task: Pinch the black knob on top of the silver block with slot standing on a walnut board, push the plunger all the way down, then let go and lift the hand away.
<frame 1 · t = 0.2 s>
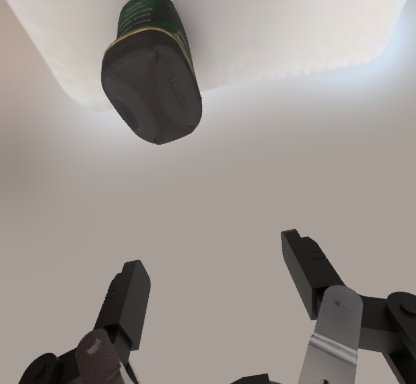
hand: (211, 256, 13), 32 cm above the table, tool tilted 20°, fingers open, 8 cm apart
coffee jar: (156, 37, 32), on the table
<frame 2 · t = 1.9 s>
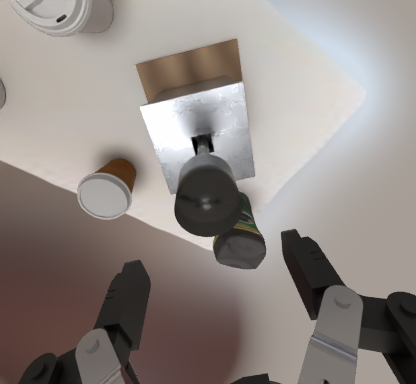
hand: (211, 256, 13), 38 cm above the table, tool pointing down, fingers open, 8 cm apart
walnut board: (200, 115, 46), on the table
plunger: (204, 159, 25), point 24 cm above the table, slide at 8.0 cm
coffee cup: (92, 8, 37), on the table
silver block with slot: (203, 136, 38), on the walnut board, point 10 cm above the table
disposable coffee cup: (121, 171, 51), on the table
coffee jar: (228, 202, 57), on the table
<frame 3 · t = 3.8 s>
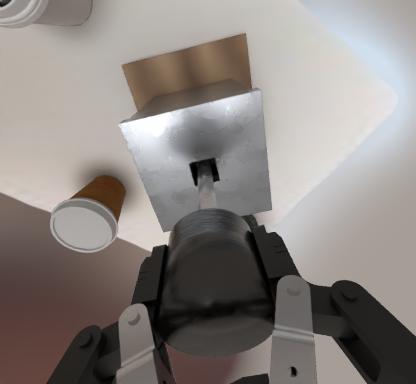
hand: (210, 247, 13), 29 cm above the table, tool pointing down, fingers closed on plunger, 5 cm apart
walnut board: (200, 125, 38), on the table
plunger: (207, 199, 18), point 24 cm above the table, slide at 8.0 cm, touching gripper
silver block with slot: (204, 153, 31), on the walnut board, point 10 cm above the table
disposable coffee cup: (108, 189, 44), on the table
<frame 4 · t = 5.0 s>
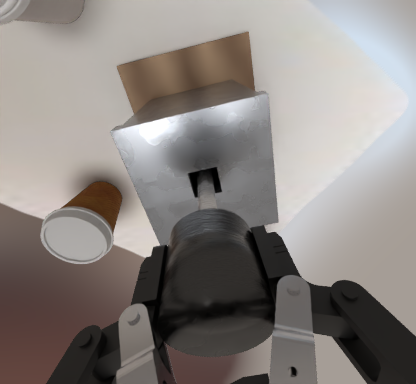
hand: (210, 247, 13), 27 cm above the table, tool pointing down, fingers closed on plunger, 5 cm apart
walnut board: (200, 128, 36), on the table
plunger: (206, 199, 18), point 21 cm above the table, slide at 5.7 cm, touching gripper
silver block with slot: (204, 160, 29), on the walnut board, point 10 cm above the table
disposable coffee cup: (104, 196, 42), on the table
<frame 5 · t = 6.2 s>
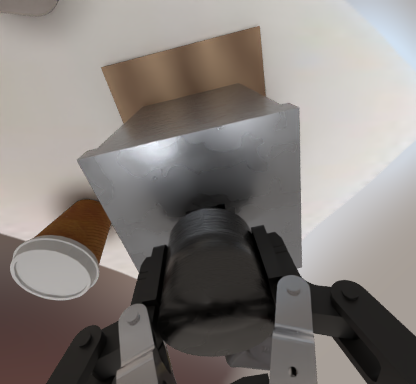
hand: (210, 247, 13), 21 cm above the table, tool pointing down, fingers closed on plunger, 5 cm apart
walnut board: (201, 139, 31), on the table
plunger: (206, 199, 18), point 15 cm above the table, slide at -0.1 cm, touching gripper
silver block with slot: (207, 181, 24), on the walnut board, point 10 cm above the table
disposable coffee cup: (92, 214, 37), on the table
coffee jar: (239, 249, 42), on the table
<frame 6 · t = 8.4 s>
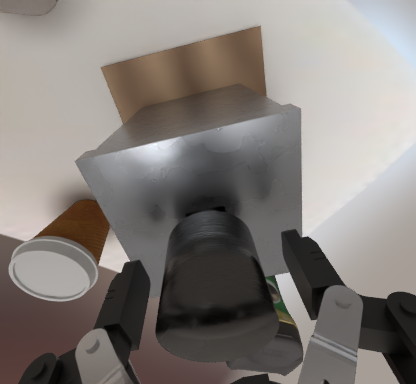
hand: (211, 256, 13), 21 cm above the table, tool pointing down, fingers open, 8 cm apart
walnut board: (201, 140, 31), on the table
plunger: (206, 201, 18), point 16 cm above the table, slide at -0.1 cm
silver block with slot: (207, 182, 24), on the walnut board, point 10 cm above the table
disposable coffee cup: (91, 215, 37), on the table
coffee jar: (239, 250, 42), on the table
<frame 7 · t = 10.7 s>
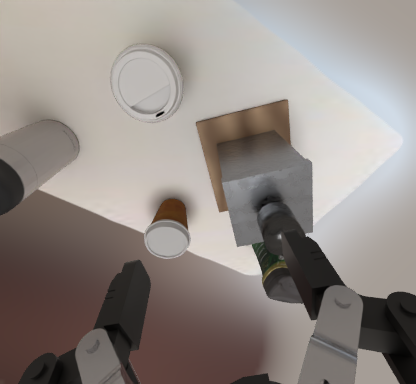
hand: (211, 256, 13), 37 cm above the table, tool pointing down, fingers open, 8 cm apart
walnut board: (248, 161, 50), on the table
plunger: (265, 198, 37), point 16 cm above the table, slide at -0.1 cm
coffee cup: (162, 78, 42), on the table
silver block with slot: (259, 188, 43), on the walnut board, point 10 cm above the table
disposable coffee cup: (173, 209, 56), on the table
coffee jar: (267, 233, 61), on the table
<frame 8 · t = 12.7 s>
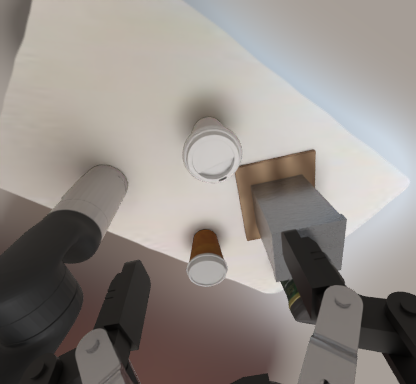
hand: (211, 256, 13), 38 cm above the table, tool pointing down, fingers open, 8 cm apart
walnut board: (276, 198, 57), on the table
plunger: (301, 241, 43), point 16 cm above the table, slide at -0.1 cm
coffee cup: (208, 132, 48), on the table
silver block with slot: (290, 228, 49), on the walnut board, point 10 cm above the table
disposable coffee cup: (205, 237, 62), on the table
coffee jar: (287, 258, 68), on the table
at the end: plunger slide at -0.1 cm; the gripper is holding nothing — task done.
